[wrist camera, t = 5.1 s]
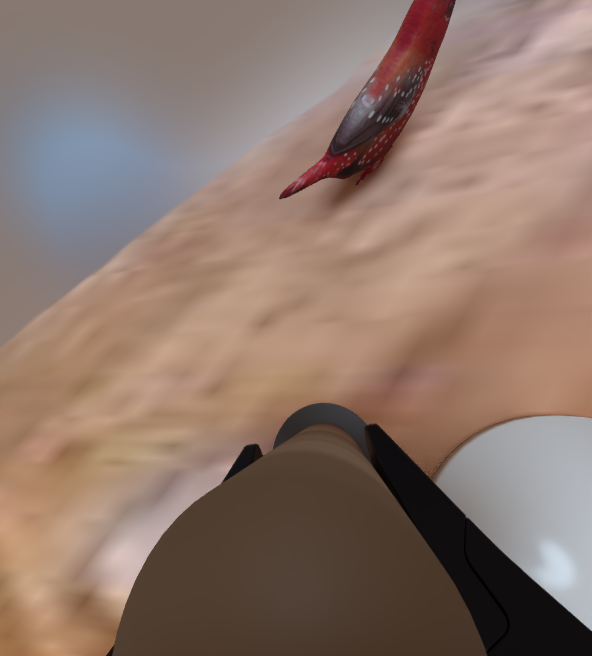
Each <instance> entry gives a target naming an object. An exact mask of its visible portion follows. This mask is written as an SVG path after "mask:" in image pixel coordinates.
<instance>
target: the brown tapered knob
mask: <svg viewBox="0 0 592 656" xmlns="http://www.w3.org/2000/svg"><path fill="white" fill-rule="evenodd" d="M365 425H366V423H365V422H364V421H363V420H362V419H361V418H360V417H358V416H357V415H356V414H355V413H353V412H352V411H350V410H348V409H346V408H344V407H342V406H339V405H335V404H329V403H318V404H312V405H309V406H306V407H304V408H302V409H300V410H298V411H296V412H295V413H294V414H292V415H291V416H290V417H289V418H288V419H287V420H286V421H285V423H284V424H283V425H282V427H281V429H280V430H279V432H278V434H277V437H276V440H275V443H274V447H273V450H272V451H270V452H269V453H267V454H266V455H264V456H263V457H261V458H260V459H258V460H257V461H255V462H254V463H252V464H251V465H249V466H248V467H246V468H245V469H243V470H241V471H240V472H238V473H237V474H235V475H234V476H232V477H231V478H229V479H228V480H226V481H225V482H223V483H222V484H220V485H219V486H217V487H216V488H214V489H213V490H211V491H210V492H208V493H207V494H205V495H204V496H203V497H201V498H200V499H198V500H197V501H195V502H194V503H193V504H192V505H191V506H190V507H189V508H188V509H186V510H185V511H184V512H183V513H182V514H181V515H180V516H179V517H178V518H177V519H176V520H175V521H174V522H173V524H172V525H171V526H170V527H169V528H168V529H167V531H166V532H165V533H164V534H163V535H162V537H161V538H160V540H159V541H158V543H157V544H156V545H155V547H154V548H153V550H152V551H151V553H150V554H149V556H148V558H147V560H146V561H145V563H144V565H143V567H142V569H141V571H140V573H139V574H138V576H137V578H136V580H135V583H134V585H133V588H132V590H131V593H130V595H129V597H128V600H127V602H126V605H125V608H124V611H123V615H122V618H121V621H120V624H119V628H118V631H117V635H116V640H115V645H114V649H113V654H112V656H487V653H486V650H485V647H484V644H483V642H482V640H481V637H480V635H479V633H478V630H477V628H476V626H475V623H474V621H473V618H472V616H471V614H470V612H469V610H468V608H467V606H466V604H465V602H464V600H463V599H462V597H461V595H460V593H459V591H458V589H457V588H456V586H455V584H454V582H453V581H452V579H451V578H450V576H449V575H448V573H447V572H446V570H445V569H444V567H443V566H442V564H441V563H440V561H439V560H438V559H437V557H436V556H435V554H434V553H433V551H432V550H431V549H430V547H429V546H428V544H427V543H426V541H425V540H424V539H423V537H422V536H421V534H420V533H419V531H418V530H417V529H416V527H415V526H414V524H413V523H412V522H411V520H410V519H409V517H408V516H407V514H406V513H405V512H404V510H403V509H402V507H401V506H400V504H399V503H398V502H397V500H396V499H395V497H394V496H393V495H392V493H391V492H390V490H389V489H388V487H387V486H386V485H385V483H384V482H383V480H382V479H381V477H380V476H379V475H378V473H377V472H376V470H375V469H374V468H373V466H372V464H371V460H370V456H369V452H368V449H367V444H366V438H365V430H364V426H365Z"/></svg>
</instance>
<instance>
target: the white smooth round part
mask: <svg viewBox="0 0 592 656" xmlns="http://www.w3.org/2000/svg"><path fill="white" fill-rule="evenodd" d="M432 481H433V482H434V483H435V484H436V485H437V486H438V487H439V488H440V489H441V490H442V491H443V492H444V493H445V494H446V495H447V496H448V497H449V498H450V499H451V500H452V501H453V502H454V503H455V504H456V505H457V506H458V508H459V509H460V510H461V511H462V512H463V513H464V514H465V515H466V518H469V519H470V520H471V521H472V522H473V523H474V524H475V525H476V526H477V527H478V528H479V529H480V530H481V531H482V532H483V533H484V534H485V535H486V536H487V537H488V538H489V539H490V540H491V541H492V542H493V543H494V544H495V545H496V546H497V547H498V548H499V549H500V550H501V551H502V552H503V553H504V554H506V555H507V556H508V557H509V558H510V559H511V560H512V561H513V562H514V563H515V564H517V565H518V566H519V567H520V568H521V569H522V570H523V571H524V572H525V573H526V574H528V575H529V576H530V577H531V578H532V579H533V580H534V581H535V582H537V583H538V584H539V585H540V586H541V587H542V588H543V589H545V590H546V591H547V592H548V593H549V594H550V595H551V596H553V597H554V598H555V599H556V600H557V601H558V602H559V603H561V604H562V605H563V606H564V607H565V608H566V609H567V610H568V611H570V612H571V613H572V614H573V615H574V616H575V617H576V618H578V619H579V620H580V621H581V622H582V623H583V624H584V625H586V626H587V627H588V628H589V629H590V630H591V631H592V419H591V418H586V417H574V416H556V415H544V416H527V417H522V418H516V419H511V420H507V421H504V422H501V423H498V424H495V425H492V426H490V427H488V428H486V429H484V430H482V431H480V432H478V433H476V434H474V435H473V436H471V437H470V438H469V439H467V440H466V441H464V442H463V443H462V444H460V445H459V446H458V447H457V448H456V449H455V450H454V451H453V452H452V453H451V454H450V455H449V456H448V457H447V458H446V459H445V461H444V462H443V463H442V465H441V466H440V468H439V469H438V470H437V472H436V473H435V475H434V477H433V479H432Z"/></svg>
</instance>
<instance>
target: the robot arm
mask: <svg viewBox="0 0 592 656" xmlns="http://www.w3.org/2000/svg"><path fill="white" fill-rule="evenodd" d="M364 430H365V438H366V444H367V449H368V452H369V456H370V460H371V464H372V466H373V468H374V469H375V470H376V472H377V473H378V475H379V476H380V477H381V479H382V480H383V482H384V483H385V485H386V486H387V487H388V489H389V490H390V492H391V493H392V495H393V496H394V497H395V499H396V500H397V502H398V503H399V504H400V506H401V507H402V509H403V510H404V512H405V513H406V514H407V516H408V517H409V519H410V520H411V522H412V523H413V524H414V526H415V527H416V529H417V530H418V531H419V533H420V534H421V536H422V537H423V539H424V540H425V541H426V543H427V544H428V546H429V547H430V549H431V550H432V551H433V553H434V554H435V556H436V557H437V559H438V560H439V561H440V563H441V564H442V566H443V567H444V569H445V570H446V572H447V573H448V575H449V576H450V578H451V579H452V581H453V582H454V584H455V586H456V588H457V589H458V591H459V593H460V595H461V597H462V599H463V600H464V602H465V604H466V606H467V608H468V610H469V612H470V614H471V616H472V618H473V621H474V623H475V626H476V628H477V630H478V633H479V635H480V637H481V640H482V642H483V644H484V647H485V650H486V653H487V656H592V631H591V630H590V629H589V628H588V627H587V626H586V625H584V624H583V623H582V622H581V621H580V620H579V619H578V618H576V617H575V616H574V615H573V614H572V613H571V612H570V611H568V610H567V609H566V608H565V607H564V606H563V605H562V604H561V603H559V602H558V601H557V600H556V599H555V598H554V597H553V596H551V595H550V594H549V593H548V592H547V591H546V590H545V589H543V588H542V587H541V586H540V585H539V584H538V583H537V582H535V581H534V580H533V579H532V578H531V577H530V576H529V575H528V574H526V573H525V572H524V571H523V570H522V569H521V568H520V567H519V566H518V565H517V564H515V563H514V562H513V561H512V560H511V559H510V558H509V557H508V556H507V555H506V554H504V553H503V552H502V551H501V550H500V549H499V548H498V547H497V546H496V545H495V544H494V543H493V542H492V541H491V540H490V539H489V538H488V537H487V536H486V535H485V534H484V533H483V532H482V531H481V530H480V529H479V528H478V527H477V526H476V525H475V524H474V523H473V522H472V521H471V520H470V519H469V518H466V515H465V514H464V513H463V512H462V511H461V510H460V509H459V508H458V506H457V505H456V504H455V503H454V502H453V501H452V500H451V499H450V498H449V497H448V496H447V495H446V494H445V493H444V492H443V491H442V490H441V489H440V488H439V487H438V486H437V485H436V484H435V483H434V482H433V481H432V480H431V479H430V478H429V477H428V476H427V475H426V474H425V473H424V472H423V471H422V470H421V469H420V468H419V466H418V465H417V464H416V463H415V462H414V461H413V460H412V459H411V458H410V457H409V456H408V455H407V454H406V453H405V452H404V451H403V450H402V449H401V448H400V447H399V446H398V445H397V444H396V443H395V442H394V441H393V440H392V439H391V438H390V437H389V436H388V435H387V434H386V433H385V432H384V431H383V430H382V429H381V428H380V426H379V425H377V424H369V425H365V426H364ZM261 457H263V455H262V452H261V450H260V447H259V445H258V444H250V445H246V446H245V447H244V449H243V450H242V452H241V453H240V455H239V457H238V458H237V460H236V461H235V463H234V464H233V466H232V468H231V469H230V471H229V472H228V474H227V475H226V477H225V479H224V480H223V482H225V481H226V480H228V479H229V478H231V477H232V476H234V475H235V474H237V473H238V472H240V471H241V470H243V469H245V468H246V467H248V466H249V465H251V464H252V463H254V462H255V461H257V460H258V459H260V458H261ZM223 482H222V483H223ZM222 483H221V484H222ZM114 645H115V644H114ZM113 649H114V646H113V647H112V648H111V650H110V651H109V652H108V654H107V655H106V656H112V654H113Z"/></svg>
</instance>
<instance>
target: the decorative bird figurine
mask: <svg viewBox="0 0 592 656" xmlns="http://www.w3.org/2000/svg"><path fill="white" fill-rule="evenodd" d="M455 1H456V0H414V1H413V3H412V5H411V7H410V9H409V11H408V13H407V15H406V17H405V19H404V21H403V23H402V25H401V27H400V30H399V31H398V34H397V36H396V38H395V40H394V41H393V43H392V45H391V47H390V49H389V50H388V52H387V53H386V55H385V56H384V58H383V60H382V61H381V63H380V64H379V66H378V67H377V69H376V70H375V72H374V73H373V75H372V76H371V78H370V79H369V80H368V82H367V83H366V85H365V86H364V88H363V89H362V91H361V92H360V93H359V95H358V96H357V98H356V99H355V101H354V102H353V104H352V105H351V107H350V109H349V111H348V112H347V114H346V116H345V117H344V119H343V121H342V123H341V124H340V126H339V128H338V130H337V132H336V133H335V135H334V137H333V139H332V141H331V143H330V145H329V148H328V150H327V152H326V154H325V156H324V157H323V158H322V159H321V160H320V161H319V162H317V163H316V164H315V165H314V166H313V167H311V168H310V169H309V170H308V171H307V172H305V173H304V174H303V175H302V176H300V177H299V178H298V179H297V180H296V181H294V182H293V183H292V184H291V185H289V186H288V188H286V189H285V190H284V191H283V192H282V194H281V195H280V198H279V199H282V198H287V197H289V196H291V195H293V194H295V193H297V192H299V191H301V190H303V189H305V188H306V187H309V186H310V185H312V184H314V183H316V182H318V181H320V180H322V179H325V178H339V179H346V178H349V177H351V176H352V175H354V174H356V173H358V172H360V171H362V170H365V171H364V172H363V173H362V174H361V175H360V177H359V179H358V181H357V184H358V183H359V181H360V180H363V179H364V178H365V177H366V176H367V174H369V173H371V172H372V171H373V170H374V169H375V168H376V167H377V166H379V164H380V163H381V162H382V161H383V159H384V156H385V155H386V153H387V152H388V151H389V150H390V148H391V147H392V146H393V145H392V144H393V143H394V141H395V140H396V139H397V137H398V136H399V134H400V133H401V131H402V130H403V128H404V126H405V125H406V123H407V121H408V120H409V118H410V116H411V115H412V113H413V111H414V109H415V107H416V105H417V103H418V101H419V99H420V97H421V94H422V92H423V90H424V88H425V86H426V83H427V80H428V78H429V75H430V73H431V70H432V67H433V64H434V62H435V59H436V56H437V53H438V51H439V48H440V46H441V43H442V41H443V39H444V36H445V33H446V30H447V27H448V24H449V21H450V18H451V15H452V11H453V8H454V5H455ZM357 184H356V185H357Z"/></svg>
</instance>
